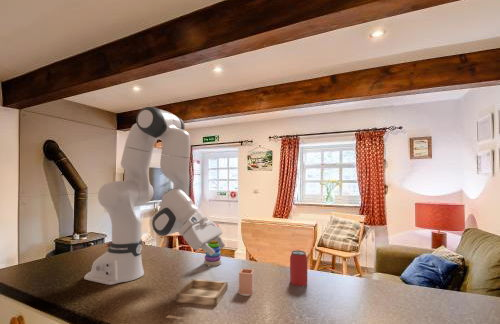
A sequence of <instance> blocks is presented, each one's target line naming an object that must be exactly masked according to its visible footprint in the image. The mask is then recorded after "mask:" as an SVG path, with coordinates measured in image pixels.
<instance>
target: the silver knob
mask: <svg viewBox="0 0 500 324" xmlns="http://www.w3.org/2000/svg"><path fill="white" fill-rule="evenodd" d="M256 292H257V290H256V289H255V288H254V291H253V294H252V295H251V296H253V295H255V294H256ZM237 293H238V294H239V289H238V290H237ZM240 296H247V297H248V296H250V295H249V294H240Z"/></svg>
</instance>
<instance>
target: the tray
mask: <svg viewBox="0 0 500 324" xmlns="http://www.w3.org/2000/svg"><path fill="white" fill-rule="evenodd" d="M228 287H229V286H228V282H226V281H217V280H208V279H207V280H206V279H193V278H192V279H191V280H190V281H189V282H188V283H186V285H185V286H183V287H182V288H181V289H180V290H179V291H178V292H177V293H176V294H175V295H176V299H175V300H176V301H175V304H178V303H182V304H184V303H185V304H192V305H193V304H194V305H202V306H203V305H204V306H211V307H217V306H218V304H219V303H220V302H221V300H222V298H224V295H225V293H227V291H228Z"/></svg>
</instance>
